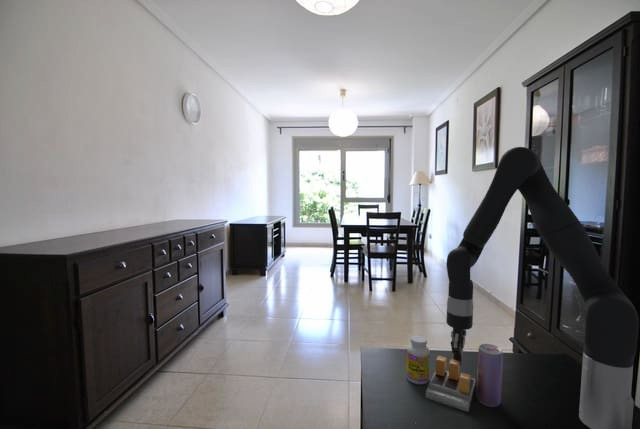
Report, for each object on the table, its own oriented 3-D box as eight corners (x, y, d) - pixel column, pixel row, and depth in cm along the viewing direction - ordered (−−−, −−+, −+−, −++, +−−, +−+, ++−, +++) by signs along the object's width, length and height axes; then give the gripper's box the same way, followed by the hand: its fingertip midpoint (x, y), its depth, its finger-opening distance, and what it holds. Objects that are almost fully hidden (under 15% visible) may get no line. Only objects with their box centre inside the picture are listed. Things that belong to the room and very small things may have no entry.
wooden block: (446, 371, 100) (446, 357, 99) (444, 376, 97) (444, 361, 97) (437, 369, 101) (438, 354, 101) (435, 374, 99) (436, 359, 98)
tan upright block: (470, 390, 90) (470, 374, 90) (468, 396, 88) (469, 379, 88) (460, 387, 92) (461, 371, 91) (458, 393, 89) (459, 376, 89)
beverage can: (503, 409, 86) (506, 355, 85) (479, 406, 87) (482, 352, 86) (496, 395, 92) (498, 344, 91) (473, 392, 93) (476, 342, 92)
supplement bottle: (403, 381, 99) (405, 340, 98) (408, 370, 105) (409, 332, 104) (426, 387, 96) (428, 345, 95) (430, 376, 101) (431, 336, 100)
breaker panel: (475, 385, 97) (475, 374, 97) (468, 412, 85) (469, 400, 85) (436, 374, 103) (437, 364, 103) (425, 397, 91) (426, 386, 91)
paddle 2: (459, 375, 98) (459, 360, 97) (457, 380, 95) (458, 365, 95) (450, 373, 99) (451, 358, 99) (448, 377, 97) (449, 362, 96)
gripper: (469, 320, 94) (467, 377, 95) (475, 306, 105) (473, 358, 106) (442, 314, 98) (440, 370, 99) (450, 302, 109) (448, 352, 110)
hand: (457, 363), depth 103 cm, fingers closed
